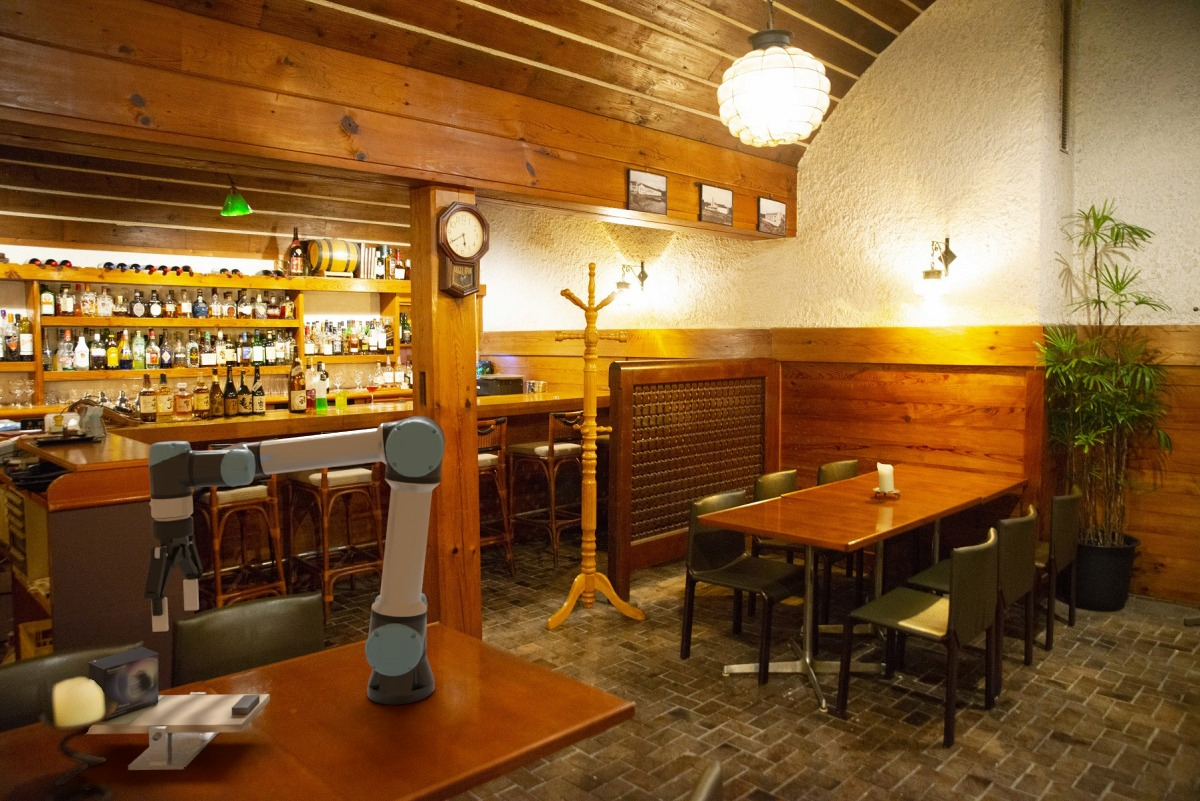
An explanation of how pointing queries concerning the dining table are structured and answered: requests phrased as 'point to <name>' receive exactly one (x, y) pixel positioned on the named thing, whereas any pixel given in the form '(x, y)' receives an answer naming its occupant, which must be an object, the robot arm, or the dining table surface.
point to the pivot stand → (171, 748)
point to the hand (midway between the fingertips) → (176, 620)
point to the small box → (128, 679)
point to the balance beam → (189, 714)
